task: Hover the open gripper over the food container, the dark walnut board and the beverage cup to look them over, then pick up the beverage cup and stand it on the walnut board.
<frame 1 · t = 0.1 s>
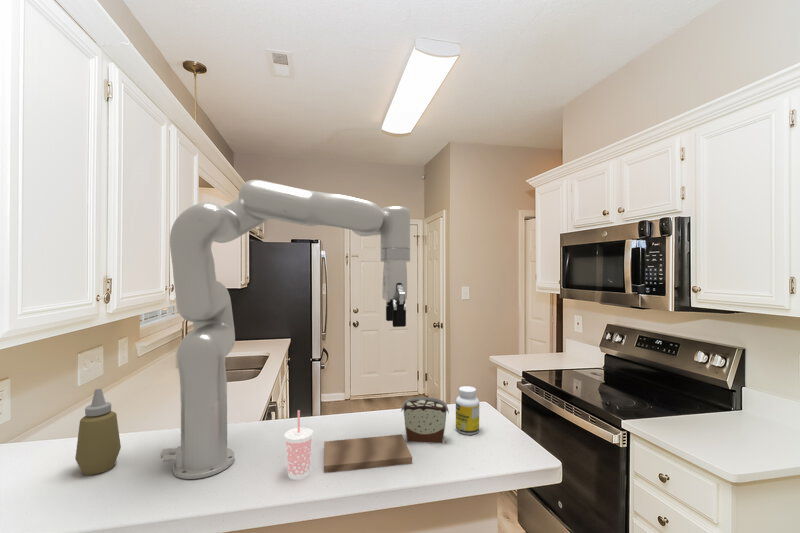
hand: (395, 323, 97), 31 cm above the table, tool pointing down, fingers open, 9 cm apart
food container: (425, 438, 101), on the table
beverage cup: (298, 474, 84), on the table
squeeze bottle: (98, 469, 86), on the table
walnut board: (366, 455, 92), on the table
pill bottle: (467, 431, 106), on the table
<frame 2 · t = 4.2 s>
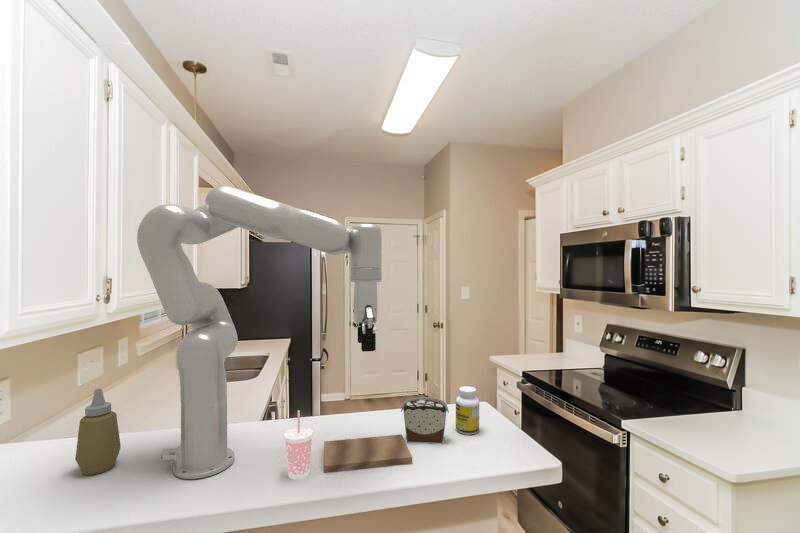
hand: (366, 346, 92), 26 cm above the table, tool pointing down, fingers open, 9 cm apart
nothing on the table moved.
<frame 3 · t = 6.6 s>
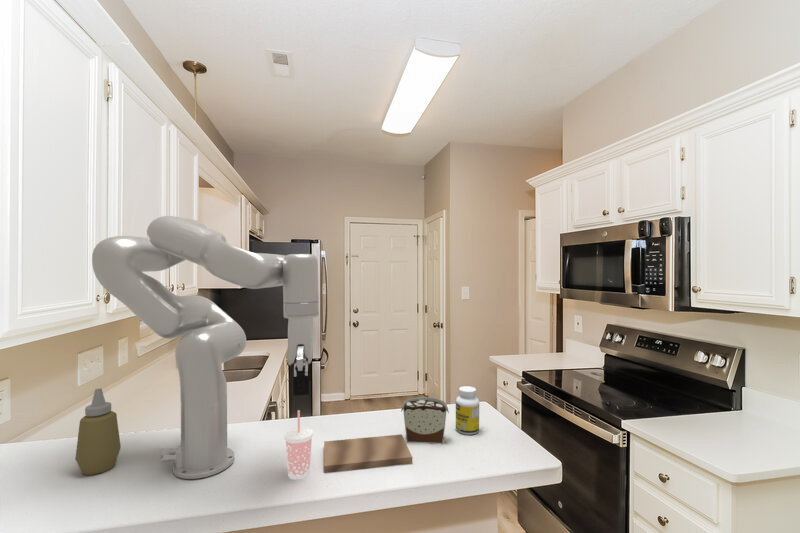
hand: (302, 387, 84), 19 cm above the table, tool pointing down, fingers open, 9 cm apart
nothing on the table moved.
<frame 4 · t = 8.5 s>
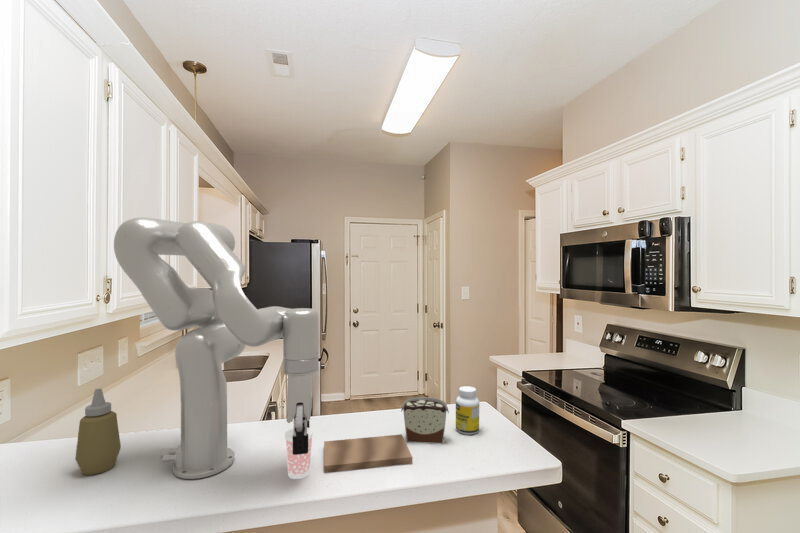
hand: (301, 445, 84), 6 cm above the table, tool pointing down, fingers closed on beverage cup, 6 cm apart
beverage cup: (298, 474, 84), on the table, touching gripper
everything else where it was.
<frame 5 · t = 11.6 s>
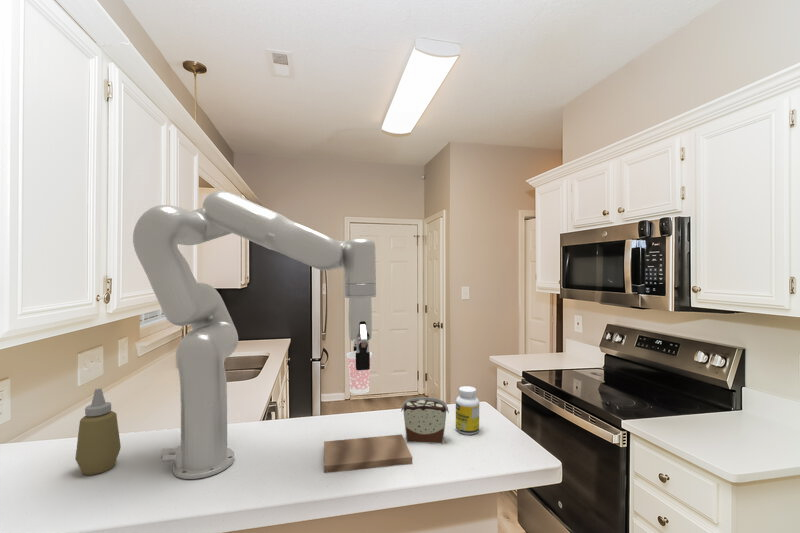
hand: (361, 365, 91), 22 cm above the table, tool pointing down, fingers closed on beverage cup, 6 cm apart
beverage cup: (359, 391, 91), point 16 cm above the table, touching gripper
everything else where it was.
when the fingers open (9 cm above the table, at t = 15.0 s): beverage cup drops 1 cm, resting on walnut board.
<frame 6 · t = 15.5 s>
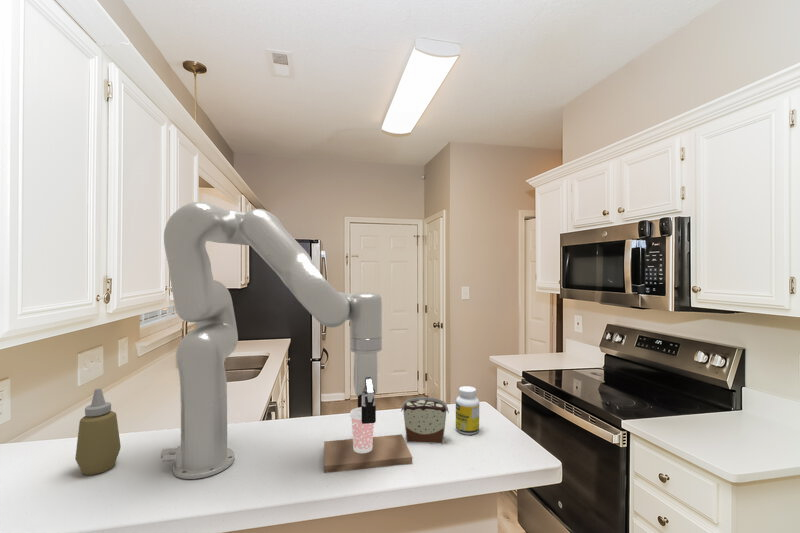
hand: (366, 414, 92), 10 cm above the table, tool pointing down, fingers open, 9 cm apart
beverage cup: (363, 449, 92), point 1 cm above the table, touching walnut board
everything else where it was.
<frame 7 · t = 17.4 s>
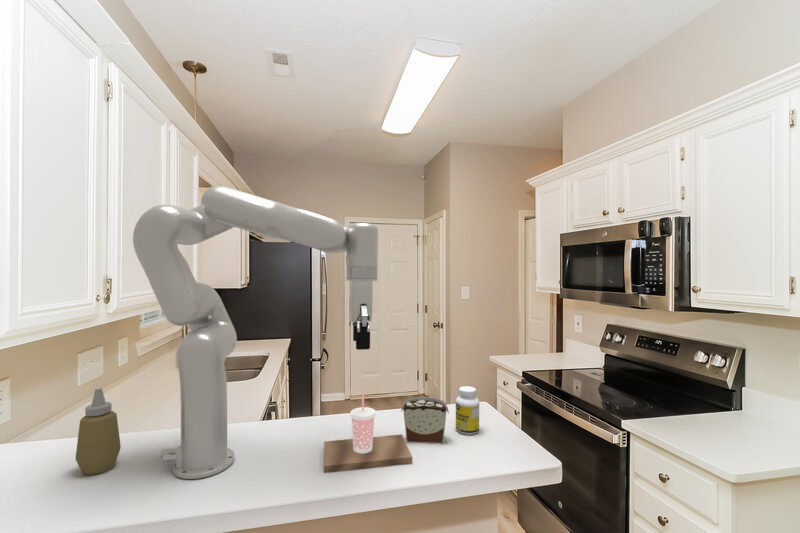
hand: (361, 344, 93), 27 cm above the table, tool pointing down, fingers open, 9 cm apart
nothing on the table moved.
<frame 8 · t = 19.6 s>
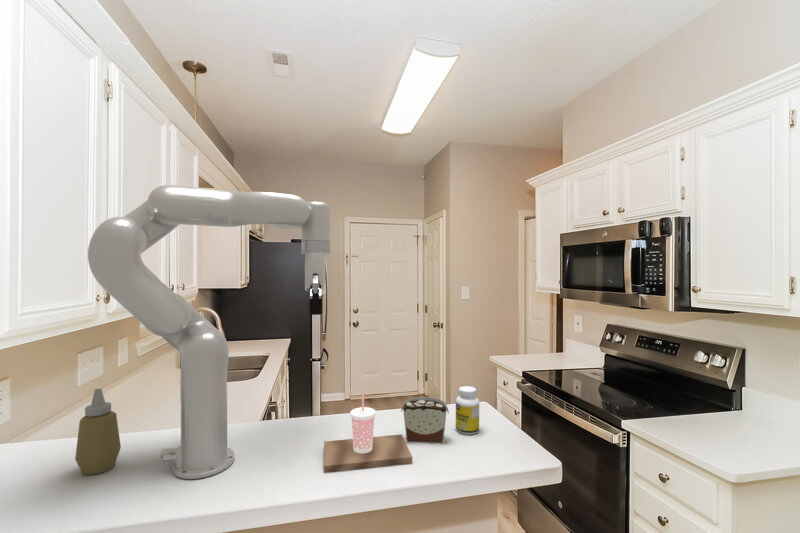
hand: (316, 312, 102), 33 cm above the table, tool pointing down, fingers open, 9 cm apart
nothing on the table moved.
at the end: beverage cup inside the target area on the walnut board (0.8 cm from its centre), point 1.3 cm above the walnut board's base; beverage cup tilted 0°; the gripper is holding nothing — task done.
